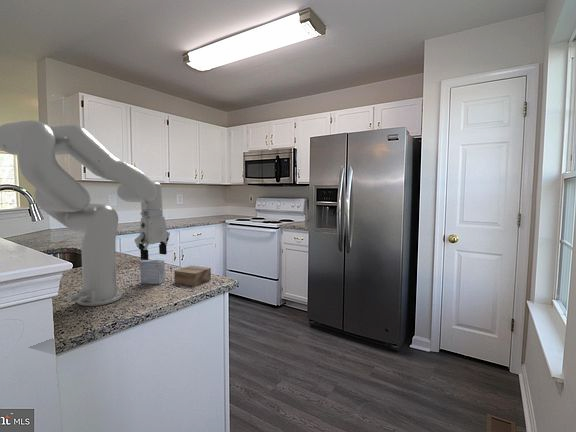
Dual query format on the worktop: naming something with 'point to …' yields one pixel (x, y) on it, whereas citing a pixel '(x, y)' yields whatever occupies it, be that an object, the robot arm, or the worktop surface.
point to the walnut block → (192, 275)
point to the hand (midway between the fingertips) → (154, 256)
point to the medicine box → (152, 271)
